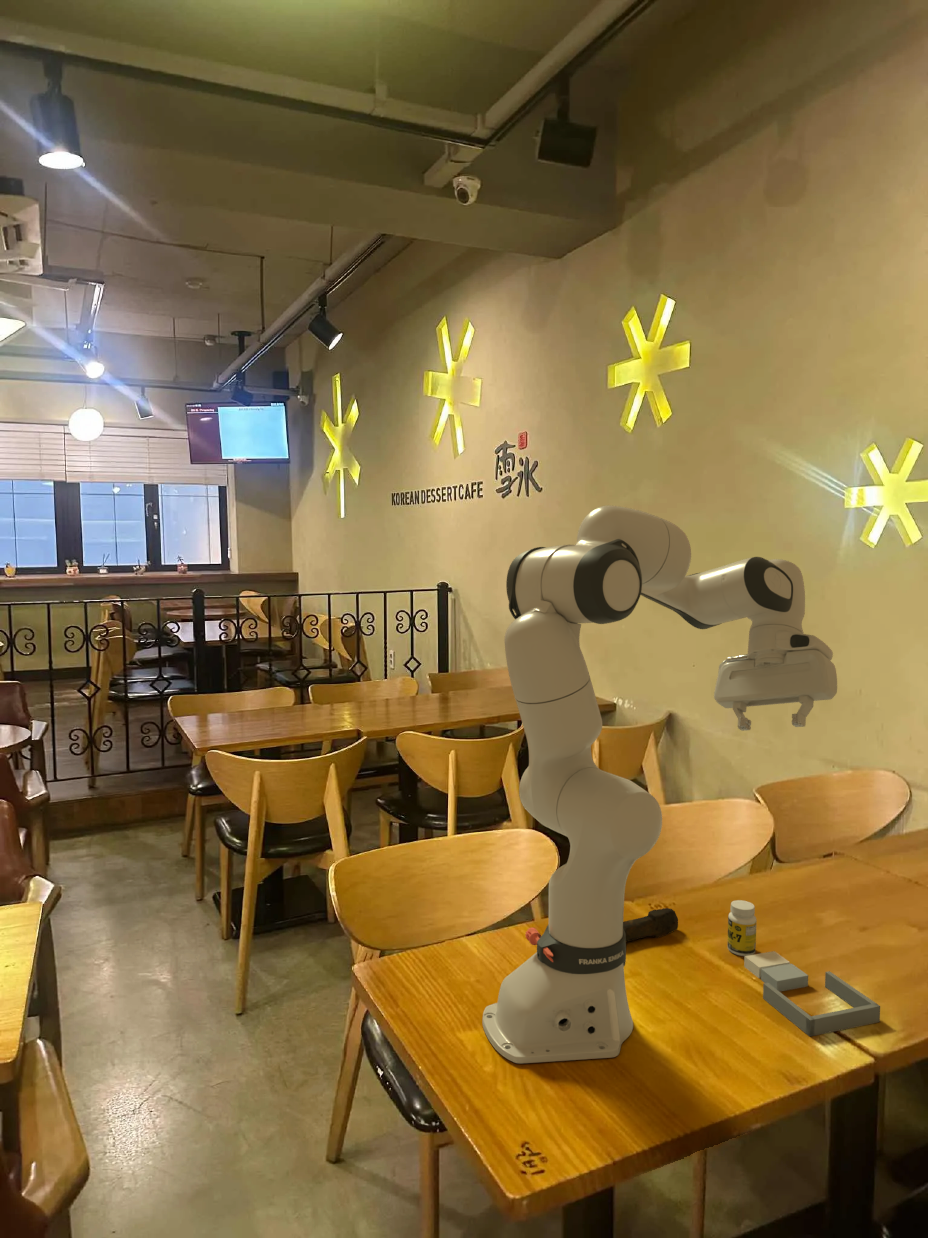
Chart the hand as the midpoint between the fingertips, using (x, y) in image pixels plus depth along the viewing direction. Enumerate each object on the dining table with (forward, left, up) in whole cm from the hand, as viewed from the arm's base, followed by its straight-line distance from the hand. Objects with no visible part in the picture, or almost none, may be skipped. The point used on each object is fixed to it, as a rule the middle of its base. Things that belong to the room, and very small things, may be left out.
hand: (770, 727), depth 136 cm
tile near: (+1, -4, -42) cm, 42 cm away
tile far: (+1, 0, -42) cm, 42 cm away
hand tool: (-15, +17, -42) cm, 48 cm away
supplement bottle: (+1, +7, -42) cm, 43 cm away
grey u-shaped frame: (+1, -13, -42) cm, 43 cm away
